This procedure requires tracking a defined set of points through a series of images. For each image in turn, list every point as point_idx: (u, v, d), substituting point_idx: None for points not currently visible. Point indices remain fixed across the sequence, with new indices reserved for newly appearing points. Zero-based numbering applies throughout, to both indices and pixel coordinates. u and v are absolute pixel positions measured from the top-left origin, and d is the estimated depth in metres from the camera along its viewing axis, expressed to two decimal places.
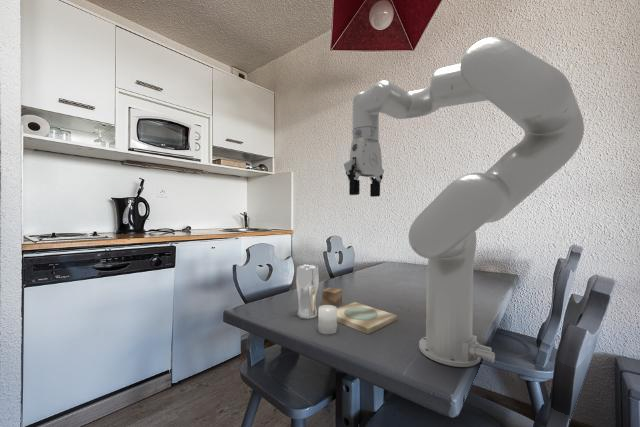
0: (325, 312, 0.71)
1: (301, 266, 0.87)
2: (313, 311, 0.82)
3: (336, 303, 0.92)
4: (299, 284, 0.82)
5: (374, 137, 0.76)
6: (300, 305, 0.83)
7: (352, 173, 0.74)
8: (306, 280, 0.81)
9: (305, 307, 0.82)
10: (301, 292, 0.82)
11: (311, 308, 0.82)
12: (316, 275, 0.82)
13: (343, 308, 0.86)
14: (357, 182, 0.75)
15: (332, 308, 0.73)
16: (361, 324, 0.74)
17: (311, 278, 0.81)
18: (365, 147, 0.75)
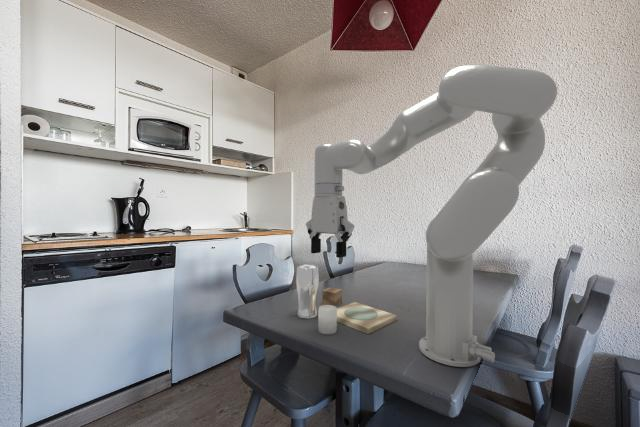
0: (325, 312, 0.71)
1: (301, 266, 0.87)
2: (313, 311, 0.82)
3: (336, 303, 0.92)
4: (299, 284, 0.82)
5: None
6: (300, 305, 0.83)
7: None
8: (306, 280, 0.81)
9: (305, 307, 0.82)
10: (301, 292, 0.82)
11: (311, 308, 0.82)
12: (316, 275, 0.82)
13: (343, 308, 0.86)
14: None
15: (332, 308, 0.73)
16: (361, 324, 0.74)
17: (311, 278, 0.81)
18: None
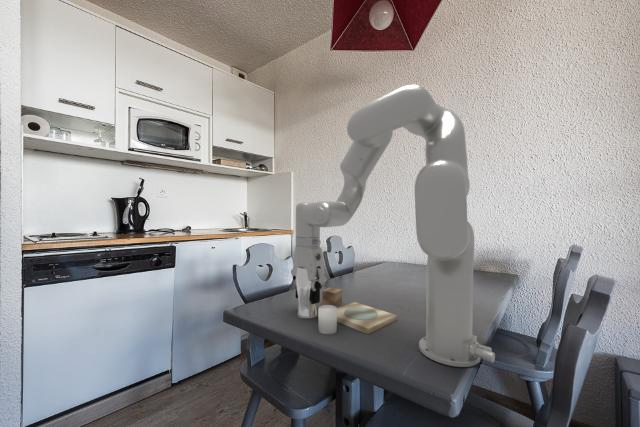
0: (325, 312, 0.71)
1: None
2: (313, 311, 0.82)
3: (336, 303, 0.92)
4: (299, 284, 0.82)
5: None
6: (300, 305, 0.83)
7: None
8: (306, 280, 0.81)
9: (305, 307, 0.82)
10: (301, 292, 0.82)
11: (311, 308, 0.82)
12: (316, 275, 0.82)
13: (343, 308, 0.86)
14: None
15: (332, 308, 0.73)
16: (361, 324, 0.74)
17: None
18: None
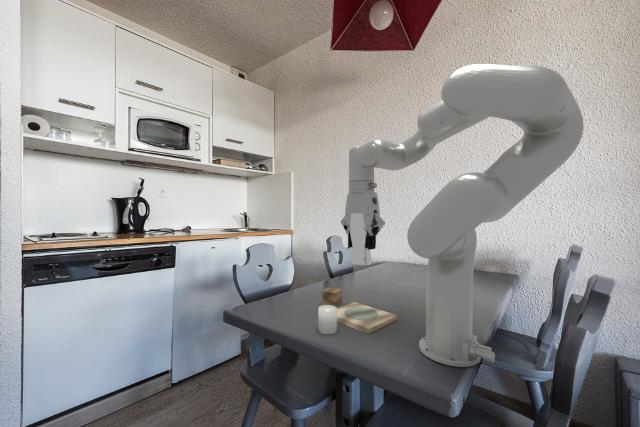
0: (325, 312, 0.71)
1: None
2: (369, 258, 0.80)
3: (336, 303, 0.92)
4: (354, 229, 0.79)
5: None
6: (355, 252, 0.80)
7: None
8: (362, 224, 0.78)
9: (361, 253, 0.79)
10: (357, 238, 0.79)
11: (367, 254, 0.79)
12: None
13: (343, 308, 0.86)
14: None
15: (332, 308, 0.73)
16: (361, 324, 0.74)
17: None
18: None
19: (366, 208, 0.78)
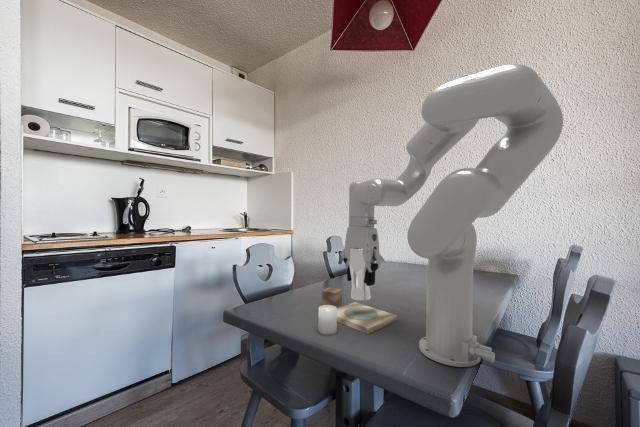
0: (325, 312, 0.71)
1: None
2: (368, 293, 0.80)
3: (336, 303, 0.92)
4: (354, 265, 0.79)
5: None
6: (354, 287, 0.80)
7: None
8: (361, 260, 0.78)
9: (360, 289, 0.79)
10: (356, 273, 0.79)
11: (366, 290, 0.80)
12: None
13: (343, 308, 0.86)
14: None
15: (332, 308, 0.73)
16: (361, 324, 0.74)
17: None
18: None
19: (366, 245, 0.78)
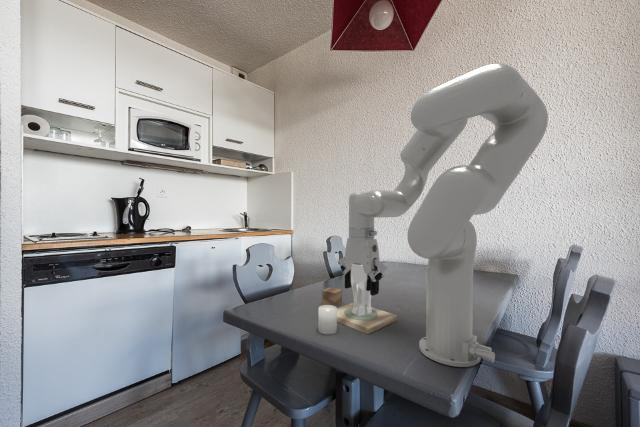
0: (325, 312, 0.71)
1: None
2: (369, 309, 0.80)
3: (336, 303, 0.92)
4: (355, 281, 0.79)
5: None
6: (355, 303, 0.80)
7: None
8: (363, 276, 0.78)
9: (361, 305, 0.79)
10: (357, 289, 0.79)
11: (367, 306, 0.79)
12: None
13: (343, 308, 0.86)
14: None
15: (332, 308, 0.73)
16: (361, 324, 0.74)
17: (368, 275, 0.78)
18: None
19: (366, 256, 0.78)
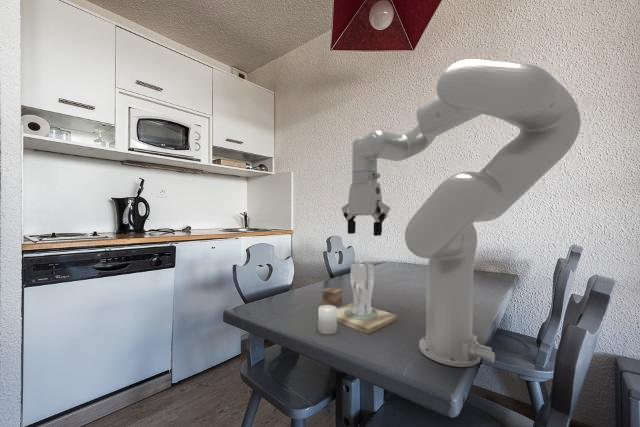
0: (325, 312, 0.71)
1: (354, 262, 0.84)
2: (369, 309, 0.80)
3: (336, 303, 0.92)
4: (355, 281, 0.79)
5: None
6: (355, 303, 0.80)
7: None
8: (363, 276, 0.78)
9: (361, 305, 0.79)
10: (357, 289, 0.79)
11: (367, 306, 0.79)
12: (372, 272, 0.80)
13: (343, 308, 0.86)
14: None
15: (332, 308, 0.73)
16: (361, 324, 0.74)
17: (368, 275, 0.78)
18: None
19: (369, 198, 0.80)
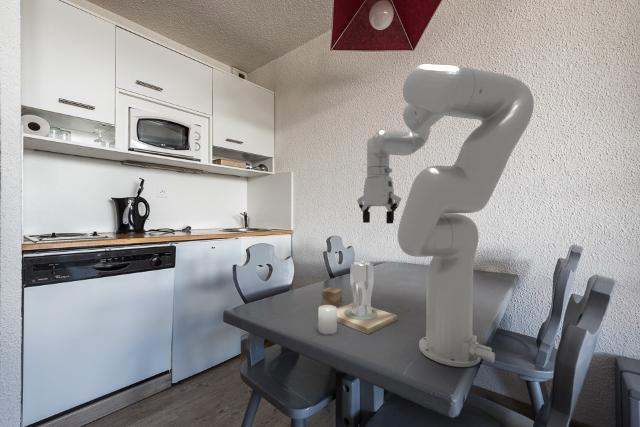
0: (325, 312, 0.71)
1: (354, 262, 0.84)
2: (369, 309, 0.80)
3: (336, 303, 0.92)
4: (355, 281, 0.79)
5: None
6: (355, 303, 0.80)
7: None
8: (362, 276, 0.78)
9: (361, 305, 0.79)
10: (357, 289, 0.79)
11: (367, 306, 0.79)
12: (372, 272, 0.80)
13: (343, 308, 0.86)
14: None
15: (332, 308, 0.73)
16: (361, 324, 0.74)
17: (368, 275, 0.78)
18: None
19: (382, 190, 0.90)
